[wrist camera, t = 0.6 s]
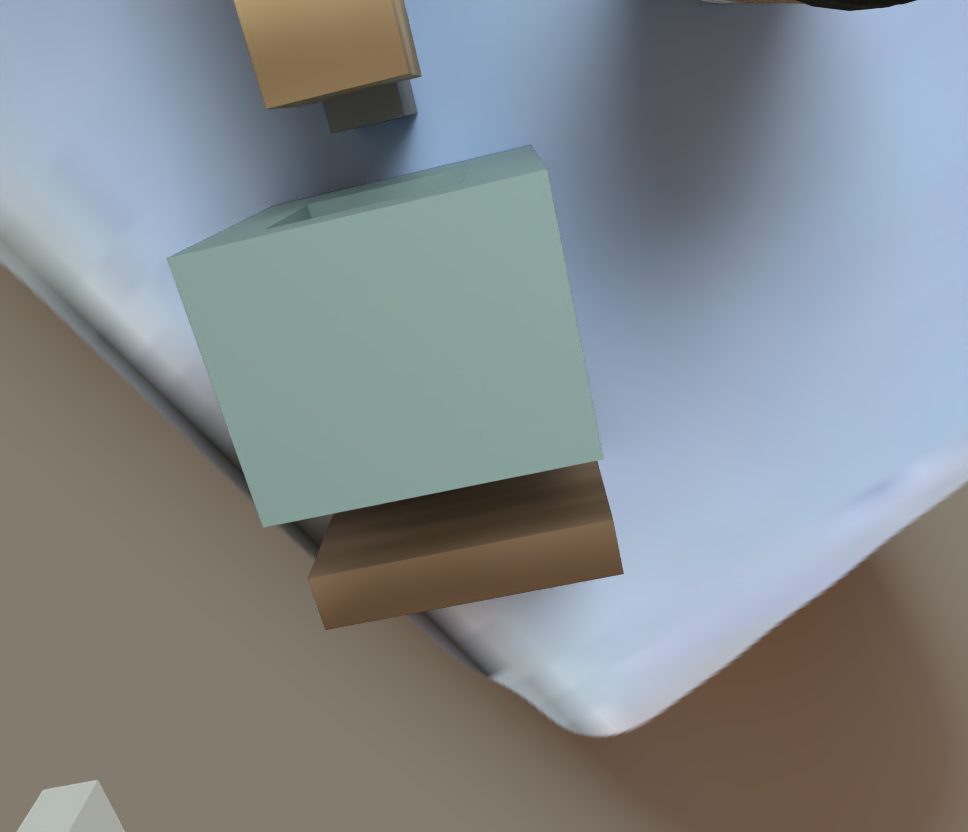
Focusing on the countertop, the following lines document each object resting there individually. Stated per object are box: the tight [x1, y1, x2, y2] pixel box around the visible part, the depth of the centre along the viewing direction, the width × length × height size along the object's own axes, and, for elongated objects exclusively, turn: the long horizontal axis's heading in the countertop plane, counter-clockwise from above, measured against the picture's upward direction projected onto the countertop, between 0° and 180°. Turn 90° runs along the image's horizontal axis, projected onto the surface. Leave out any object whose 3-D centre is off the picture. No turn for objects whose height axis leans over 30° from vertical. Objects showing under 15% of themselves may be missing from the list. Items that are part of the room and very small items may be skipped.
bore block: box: [167, 145, 603, 528], centre depth 28 cm, size 8×10×11 cm
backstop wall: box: [308, 461, 624, 630], centre depth 32 cm, size 2×10×9 cm, turn 103°
